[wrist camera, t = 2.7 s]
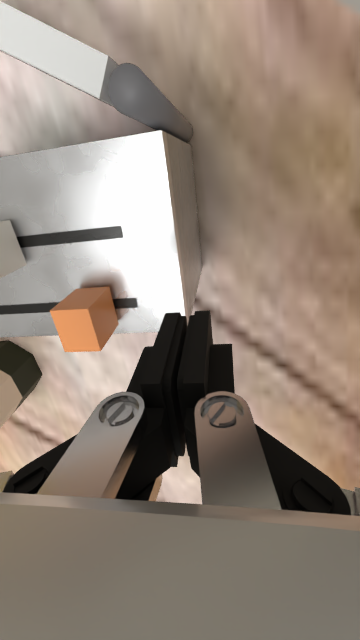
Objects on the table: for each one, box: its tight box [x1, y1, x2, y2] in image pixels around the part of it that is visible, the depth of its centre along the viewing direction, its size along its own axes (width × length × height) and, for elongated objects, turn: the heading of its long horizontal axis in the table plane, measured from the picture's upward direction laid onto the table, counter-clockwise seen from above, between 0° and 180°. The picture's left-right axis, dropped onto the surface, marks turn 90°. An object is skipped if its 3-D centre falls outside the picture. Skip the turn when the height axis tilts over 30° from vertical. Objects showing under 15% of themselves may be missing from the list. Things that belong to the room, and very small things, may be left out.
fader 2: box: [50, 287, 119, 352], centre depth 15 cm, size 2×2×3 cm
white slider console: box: [0, 130, 202, 337], centre depth 21 cm, size 16×10×12 cm, turn 97°
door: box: [0, 1, 193, 142], centre depth 15 cm, size 16×2×14 cm, turn 67°
